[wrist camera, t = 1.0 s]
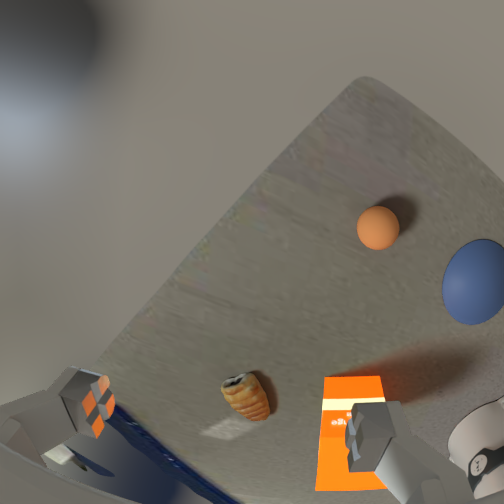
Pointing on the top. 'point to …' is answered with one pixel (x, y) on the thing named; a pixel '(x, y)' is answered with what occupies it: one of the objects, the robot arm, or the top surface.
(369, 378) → the orange juice
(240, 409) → the pastry
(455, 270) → the blue flat disc
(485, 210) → the top surface
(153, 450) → the top surface
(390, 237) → the ball
